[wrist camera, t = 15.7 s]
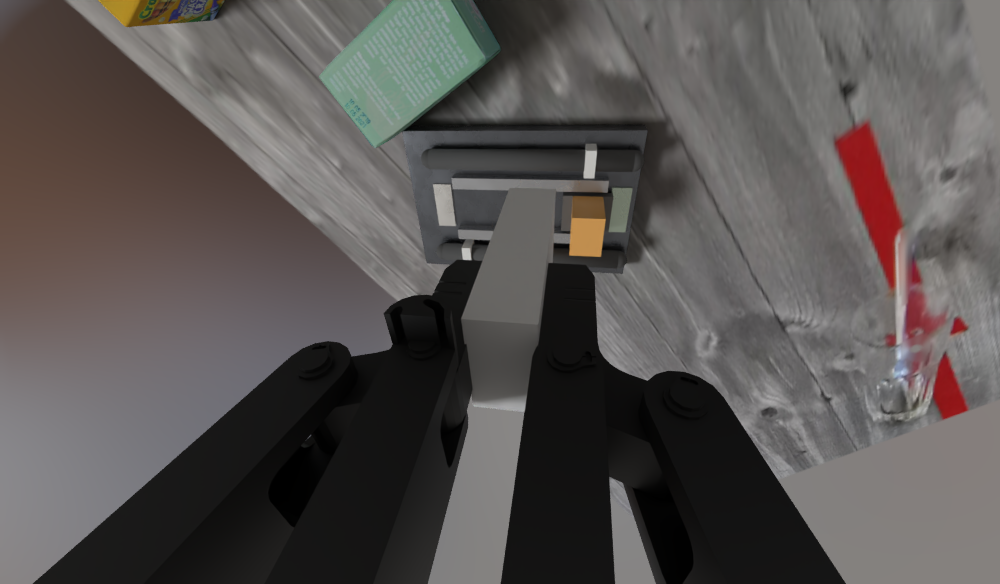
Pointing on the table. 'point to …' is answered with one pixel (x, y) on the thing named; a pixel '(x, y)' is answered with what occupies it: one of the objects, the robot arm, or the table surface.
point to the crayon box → (162, 11)
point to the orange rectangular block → (586, 221)
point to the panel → (514, 181)
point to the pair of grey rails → (534, 161)
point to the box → (408, 63)
